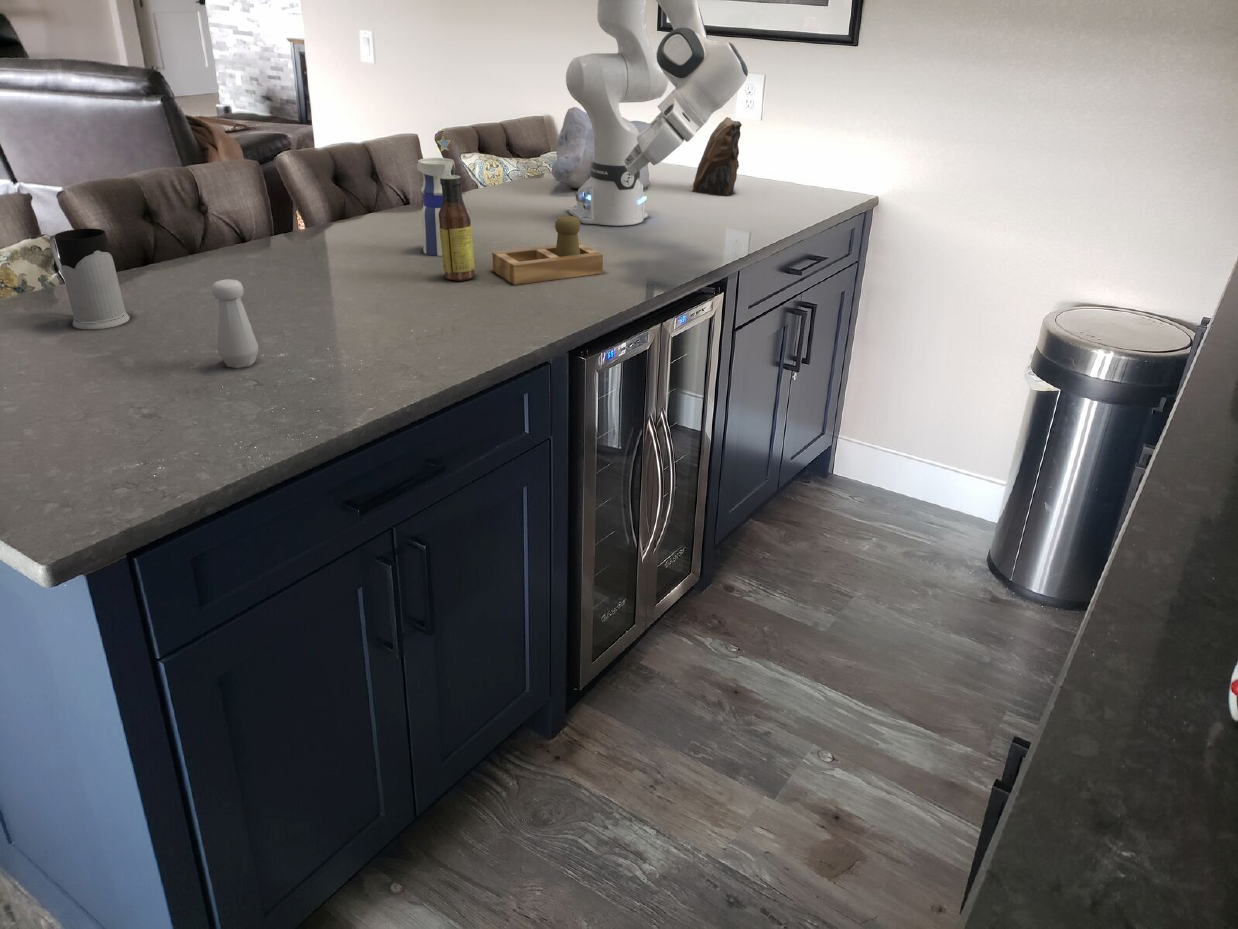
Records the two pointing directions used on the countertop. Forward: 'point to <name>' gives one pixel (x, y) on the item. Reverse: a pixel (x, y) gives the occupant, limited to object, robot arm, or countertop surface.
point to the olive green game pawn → (567, 236)
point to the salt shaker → (234, 326)
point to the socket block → (545, 264)
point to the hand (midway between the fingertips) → (627, 168)
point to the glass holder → (89, 278)
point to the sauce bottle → (455, 231)
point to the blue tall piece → (433, 197)
